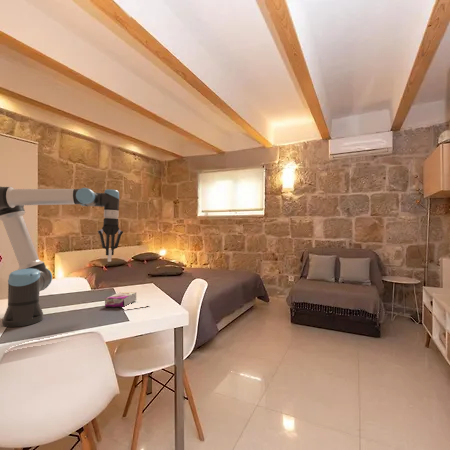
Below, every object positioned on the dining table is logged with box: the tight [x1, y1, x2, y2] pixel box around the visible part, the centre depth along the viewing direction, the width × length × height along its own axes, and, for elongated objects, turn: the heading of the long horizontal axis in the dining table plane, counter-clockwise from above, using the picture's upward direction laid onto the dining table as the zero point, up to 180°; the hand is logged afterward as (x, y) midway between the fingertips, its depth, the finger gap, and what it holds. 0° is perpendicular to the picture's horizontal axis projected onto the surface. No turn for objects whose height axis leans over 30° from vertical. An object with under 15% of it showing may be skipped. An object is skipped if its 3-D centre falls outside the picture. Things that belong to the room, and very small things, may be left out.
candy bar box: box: [104, 291, 137, 308], centre depth 157 cm, size 11×5×16 cm
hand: (109, 261), depth 148 cm, fingers closed
